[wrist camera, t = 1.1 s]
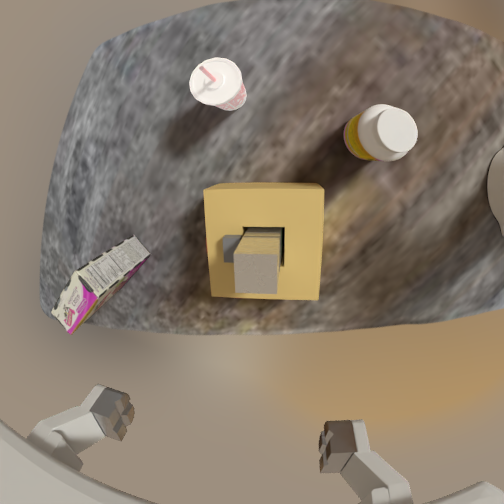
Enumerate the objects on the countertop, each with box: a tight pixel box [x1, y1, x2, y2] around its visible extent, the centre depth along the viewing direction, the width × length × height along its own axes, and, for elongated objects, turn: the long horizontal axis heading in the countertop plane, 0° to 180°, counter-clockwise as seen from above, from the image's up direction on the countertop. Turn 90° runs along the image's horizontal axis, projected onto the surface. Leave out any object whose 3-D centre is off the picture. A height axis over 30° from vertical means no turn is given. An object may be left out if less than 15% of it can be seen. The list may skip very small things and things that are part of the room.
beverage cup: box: [189, 58, 247, 111], centre depth 29 cm, size 6×6×14 cm
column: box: [233, 227, 282, 294], centre depth 33 cm, size 4×4×16 cm
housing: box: [203, 182, 324, 300], centre depth 37 cm, size 14×14×10 cm
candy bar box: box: [51, 235, 151, 335], centre depth 39 cm, size 11×5×16 cm, turn 132°
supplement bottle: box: [344, 104, 418, 161], centre depth 29 cm, size 7×7×13 cm
